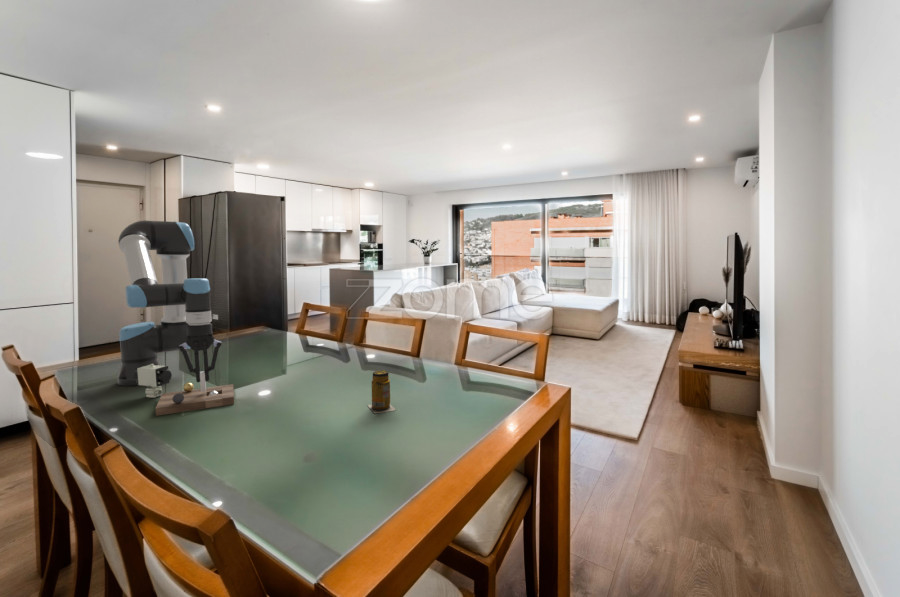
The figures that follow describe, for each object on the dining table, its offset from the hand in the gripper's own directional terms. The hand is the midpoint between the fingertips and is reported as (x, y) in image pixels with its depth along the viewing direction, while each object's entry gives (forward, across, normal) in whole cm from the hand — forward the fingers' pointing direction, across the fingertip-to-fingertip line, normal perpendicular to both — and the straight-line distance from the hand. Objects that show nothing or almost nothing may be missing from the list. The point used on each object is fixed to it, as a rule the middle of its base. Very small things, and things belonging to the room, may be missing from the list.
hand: (203, 390), depth 143 cm
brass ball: (0, -5, +6) cm, 8 cm away
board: (+4, -2, 0) cm, 4 cm away
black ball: (0, -7, -6) cm, 9 cm away
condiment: (+4, +52, -36) cm, 63 cm away
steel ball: (+2, +3, 0) cm, 4 cm away
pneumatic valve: (+4, -16, +15) cm, 22 cm away
